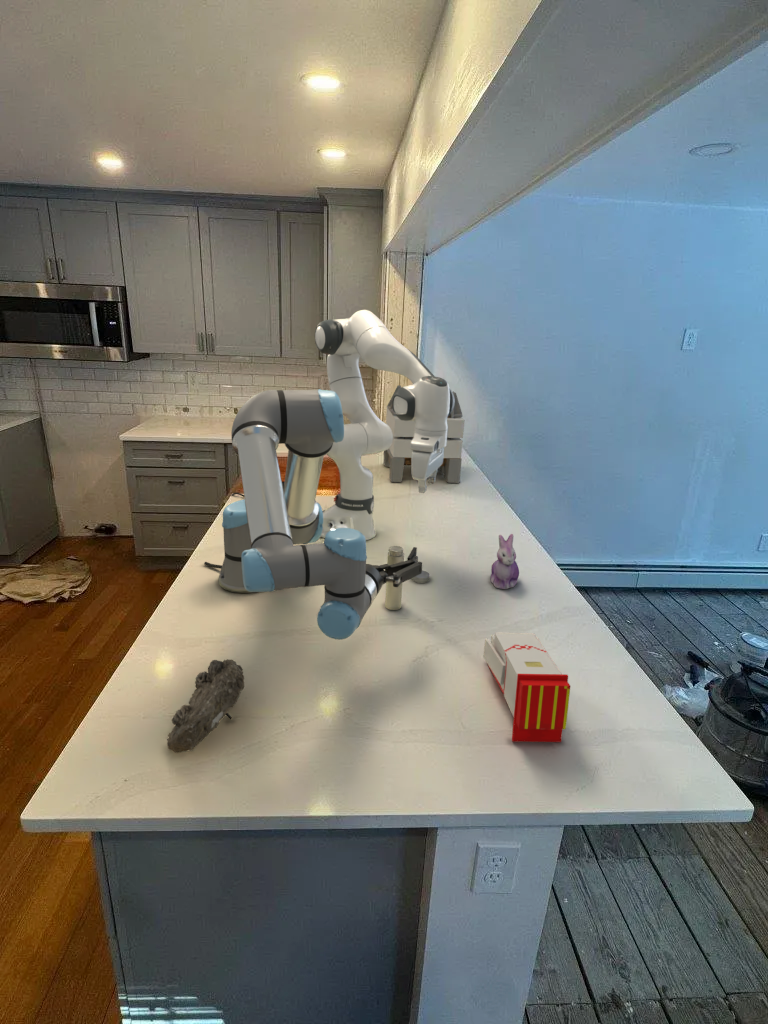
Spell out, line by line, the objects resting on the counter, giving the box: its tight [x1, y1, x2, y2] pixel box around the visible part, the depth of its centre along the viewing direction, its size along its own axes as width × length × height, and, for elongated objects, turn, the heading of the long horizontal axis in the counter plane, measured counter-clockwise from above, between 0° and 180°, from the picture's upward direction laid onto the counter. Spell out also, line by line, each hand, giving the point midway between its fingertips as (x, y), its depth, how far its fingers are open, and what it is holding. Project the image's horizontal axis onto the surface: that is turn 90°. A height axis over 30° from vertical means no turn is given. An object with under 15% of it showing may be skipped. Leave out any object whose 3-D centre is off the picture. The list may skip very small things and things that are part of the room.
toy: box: [482, 632, 571, 743], centre depth 116 cm, size 12×13×30 cm
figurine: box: [490, 533, 520, 590], centre depth 164 cm, size 9×10×15 cm
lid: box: [411, 569, 431, 584], centre depth 167 cm, size 5×5×2 cm
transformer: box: [383, 384, 465, 484], centre depth 268 cm, size 34×33×41 cm
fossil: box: [166, 658, 245, 754], centre depth 106 cm, size 22×10×15 cm
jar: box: [384, 545, 405, 611], centre depth 148 cm, size 4×4×17 cm
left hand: (387, 548), depth 135 cm, fingers open, 13 cm apart
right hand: (427, 487), depth 158 cm, fingers open, 8 cm apart
